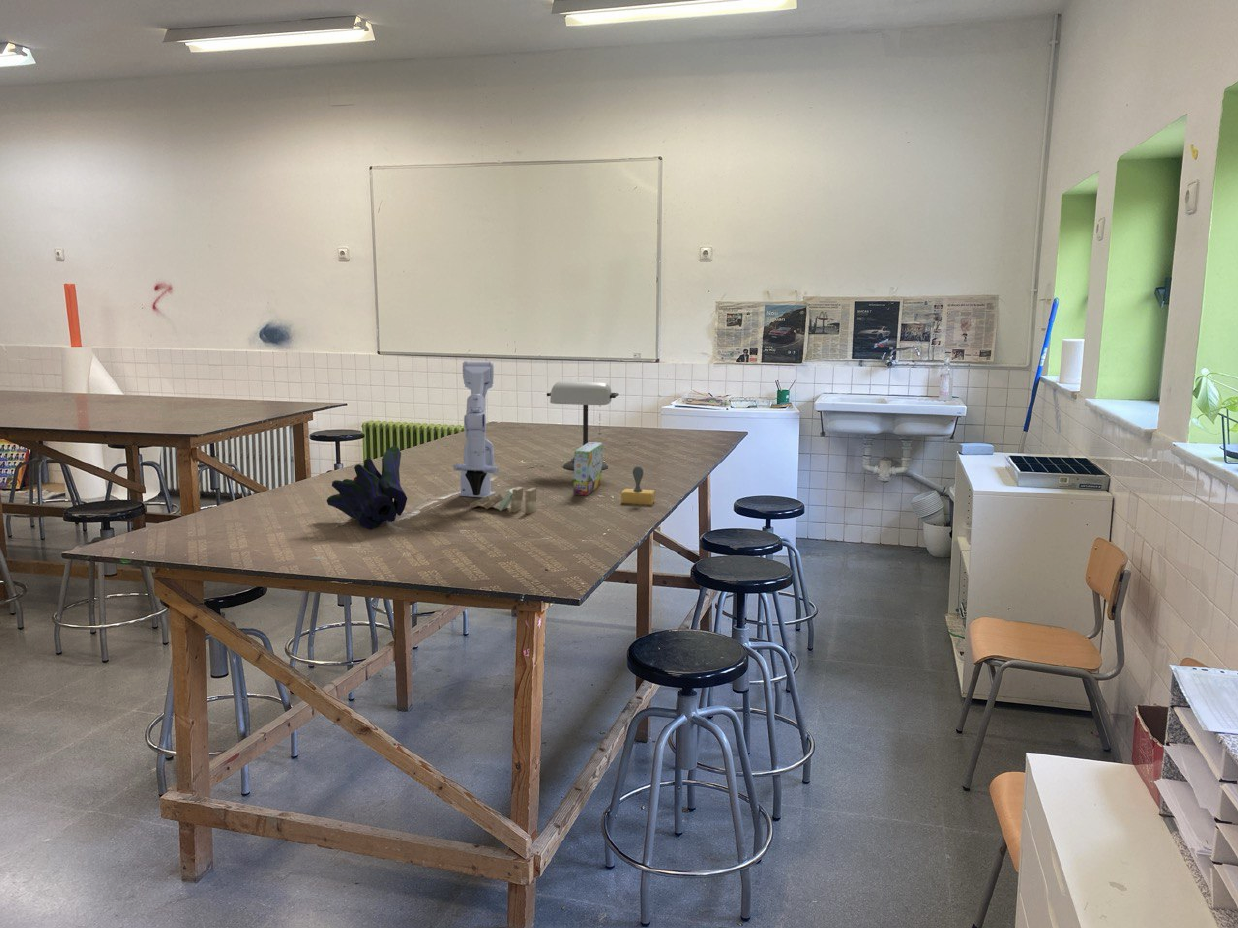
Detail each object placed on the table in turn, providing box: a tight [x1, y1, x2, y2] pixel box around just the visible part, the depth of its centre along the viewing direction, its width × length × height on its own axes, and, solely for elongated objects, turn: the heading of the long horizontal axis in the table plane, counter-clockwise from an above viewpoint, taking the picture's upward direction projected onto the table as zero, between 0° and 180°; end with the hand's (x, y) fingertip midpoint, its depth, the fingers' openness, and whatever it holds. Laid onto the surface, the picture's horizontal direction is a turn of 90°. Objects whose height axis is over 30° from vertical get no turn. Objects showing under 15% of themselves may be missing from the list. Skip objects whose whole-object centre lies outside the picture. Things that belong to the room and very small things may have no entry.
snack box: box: [572, 441, 604, 496], centre depth 306 cm, size 21×6×15 cm, turn 169°
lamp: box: [546, 381, 620, 471], centre depth 343 cm, size 26×24×34 cm
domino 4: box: [510, 486, 524, 513], centre depth 274 cm, size 2×4×7 cm, turn 162°
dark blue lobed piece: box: [325, 445, 408, 530], centre depth 261 cm, size 21×26×30 cm
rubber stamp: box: [620, 465, 656, 506], centre depth 288 cm, size 10×6×12 cm, turn 78°
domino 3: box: [496, 487, 515, 511], centre depth 275 cm, size 2×4×7 cm
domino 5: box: [524, 487, 537, 515], centre depth 273 cm, size 2×4×7 cm, turn 162°
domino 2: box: [482, 491, 507, 510], centre depth 277 cm, size 2×4×7 cm
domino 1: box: [469, 493, 497, 509], centre depth 278 cm, size 2×4×7 cm
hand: (476, 494), depth 278 cm, fingers closed
